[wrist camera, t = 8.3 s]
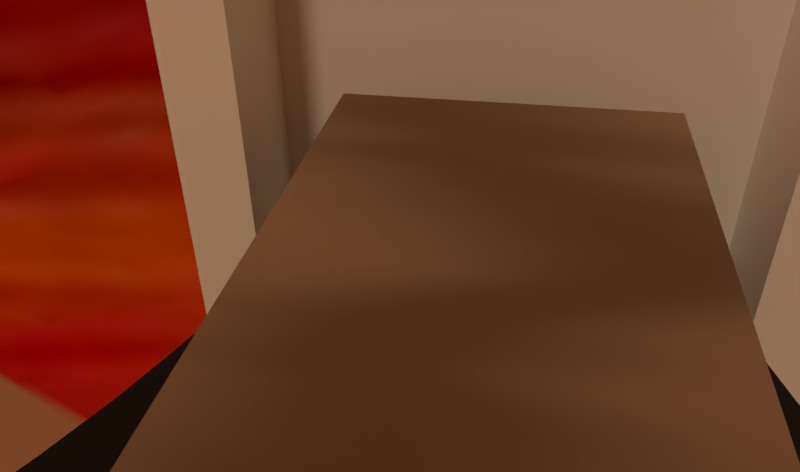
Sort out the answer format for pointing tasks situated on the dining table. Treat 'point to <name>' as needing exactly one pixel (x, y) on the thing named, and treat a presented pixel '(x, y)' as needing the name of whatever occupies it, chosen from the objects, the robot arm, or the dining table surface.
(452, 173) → the brown rectangular block
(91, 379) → the dining table surface
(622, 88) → the white tray
